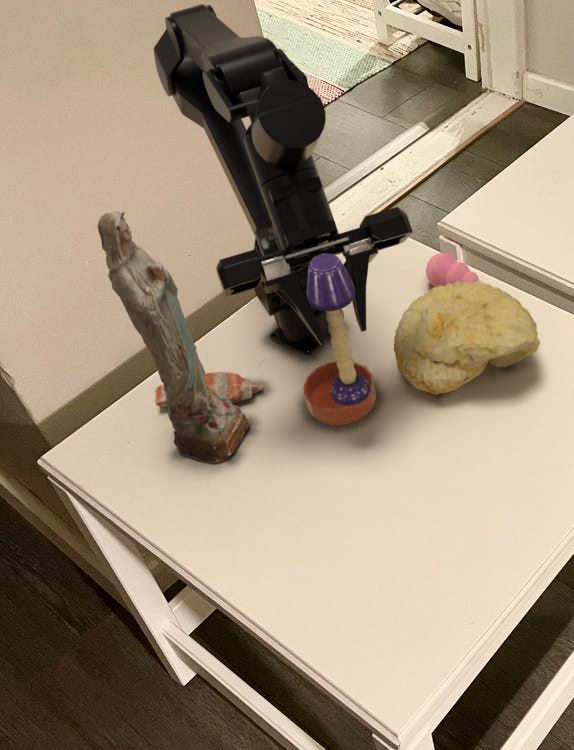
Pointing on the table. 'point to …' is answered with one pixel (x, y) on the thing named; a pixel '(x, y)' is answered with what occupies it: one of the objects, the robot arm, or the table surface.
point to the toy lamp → (337, 323)
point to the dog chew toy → (448, 270)
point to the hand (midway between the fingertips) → (343, 337)
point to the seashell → (461, 335)
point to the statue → (170, 347)
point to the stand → (322, 402)
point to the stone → (221, 387)
